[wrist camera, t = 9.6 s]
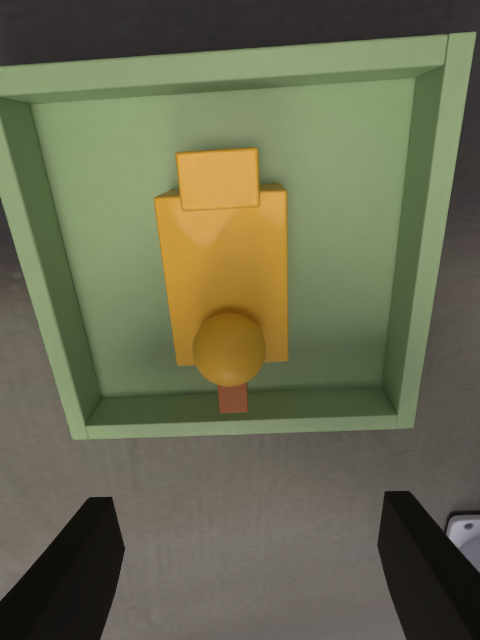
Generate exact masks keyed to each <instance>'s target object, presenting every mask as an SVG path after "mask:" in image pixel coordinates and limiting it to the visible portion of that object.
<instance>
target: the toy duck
mask: <svg viewBox="0 0 480 640" xmlns="http://www.w3.org/2000/svg"><path fill="white" fill-rule="evenodd" d="M175 158H176V167H177V175H178V184H179V189H171V190H169V191H167V192H164V193H162V194H160V195H158V196H156V197H154V199H153V200H154V207H155V214H156V221H157V228H158V235H159V242H160V249H161V256H162V263H163V270H164V277H165V284H166V291H167V298H168V306H169V313H170V320H171V327H172V334H173V341H174V348H175V355H176V362H177V365H178V366H188V365H196V367H197V369H198V370H199V372H200V373H201V374H202V375H203V376H204V377H205V378H206V379H207V380H209V381H210V382H212V383H214V384H217V390H218V400H219V411H220V413H239V412H248V390H247V382H248V381H249V380H251V379H252V378H253V377H255V375H256V374H257V373H258V372H259V370H260V369H261V367H262V365H263V363H264V362H284V361H288V194H287V190H286V189H285V188H284V187H283V186H282V185H281V184H280V183H269V184H260V183H259V154H258V148H256V147H248V148H232V149H216V150H200V151H184V152H177V153H176V154H175Z"/></svg>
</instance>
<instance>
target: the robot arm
mask: <svg viewBox="0 0 480 640" xmlns="http://www.w3.org/2000/svg"><path fill="white" fill-rule="evenodd" d="M377 546H378V550H379V554H380V558H381V562H382V566H383V570H384V574H385V578H386V581H387V585H388V589H389V592H390V595H391V598H392V601H393V603H394V606H395V609H396V612H397V615H398V617H399V620H400V623H401V626H402V629H403V631H404V634H405V637H406V640H480V515H457V516H453V517H452V518H451V519H450V520H449V523H448V527H447V531H446V534H445V533H444V532H443V530H442V529H441V528H440V527H439V526H438V525H437V523H436V522H435V521H434V520H433V519H432V517H431V516H430V515H429V514H428V513H427V511H426V510H425V509H424V508H423V507H422V505H421V504H420V503H419V502H418V500H417V499H416V498H415V497H414V496H413V494H412V493H410V492H409V491H385V495H384V502H383V509H382V516H381V523H380V530H379V537H378V544H377ZM124 551H125V547H124V543H123V539H122V535H121V531H120V527H119V523H118V519H117V515H116V511H115V507H114V503H113V499H112V497H89V498H88V499H87V500H86V502H85V503H84V504H83V505H82V506H81V508H80V509H79V510H78V511H77V512H76V514H75V515H74V516H73V517H72V519H71V520H70V521H69V522H68V523H67V525H66V526H65V527H64V528H63V530H62V531H61V532H60V533H59V534H58V536H57V537H56V538H55V539H54V540H53V542H52V543H51V544H50V545H49V546H48V548H47V549H46V550H45V551H44V552H43V553H42V555H41V556H40V557H39V558H38V559H37V560H36V562H35V563H34V564H33V565H32V566H31V567H30V569H29V570H28V571H27V572H26V573H25V574H24V575H23V577H22V578H21V579H20V580H19V581H18V582H17V583H16V585H15V586H14V587H13V588H12V589H11V590H10V591H9V592H8V593H7V594H6V596H5V597H4V598H3V599H2V600H1V601H0V640H100V638H101V635H102V632H103V629H104V626H105V623H106V620H107V617H108V614H109V611H110V608H111V605H112V602H113V598H114V595H115V592H116V587H117V583H118V579H119V575H120V570H121V565H122V561H123V556H124Z"/></svg>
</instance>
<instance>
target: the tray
mask: <svg viewBox="0 0 480 640" xmlns="http://www.w3.org/2000/svg"><path fill="white" fill-rule="evenodd" d="M475 38H476V32H463V33H450V34H449V35H446V34H440V35H426V36H412V37H398V38H385V39H371V40H357V41H343V42H329V43H315V44H301V45H287V46H274V47H260V48H246V49H232V50H218V51H204V52H190V53H176V54H163V55H149V56H135V57H121V58H107V59H93V60H79V61H65V62H52V63H38V64H24V65H10V66H0V197H1V201H2V204H3V208H4V211H5V214H6V218H7V221H8V224H9V228H10V231H11V234H12V238H13V241H14V245H15V248H16V251H17V255H18V258H19V261H20V265H21V268H22V271H23V275H24V278H25V281H26V285H27V288H28V292H29V295H30V298H31V302H32V305H33V308H34V312H35V315H36V318H37V322H38V325H39V329H40V332H41V335H42V339H43V342H44V345H45V349H46V352H47V355H48V359H49V362H50V366H51V369H52V372H53V376H54V379H55V382H56V386H57V389H58V392H59V396H60V399H61V403H62V406H63V409H64V413H65V416H66V419H67V423H68V426H69V429H70V433H71V436H72V439H74V440H77V439H88V438H89V439H117V438H146V437H175V436H204V435H233V434H262V433H290V432H319V431H348V430H377V429H395V428H396V429H407V428H414V421H415V415H416V409H417V403H418V396H419V390H420V384H421V377H422V371H423V365H424V359H425V352H426V346H427V340H428V334H429V327H430V321H431V315H432V308H433V302H434V296H435V290H436V283H437V277H438V271H439V264H440V258H441V252H442V246H443V239H444V233H445V227H446V220H447V214H448V208H449V202H450V195H451V189H452V183H453V177H454V170H455V164H456V158H457V151H458V145H459V139H460V133H461V126H462V120H463V114H464V107H465V101H466V95H467V89H468V82H469V76H470V70H471V63H472V57H473V51H474V45H475ZM248 147H256V148H258V154H259V183H260V184H269V183H280V184H281V185H282V186H283V187H284V188H285V189H286V190H287V194H288V361H284V362H264V363H263V365H262V367H261V369H260V370H259V372H258V373H257V374H256V375H255V377H253V378H252V379H251V380H249V381H248V382H247V390H248V412H239V413H220V411H219V400H218V390H217V384H214V383H212V382H210V381H209V380H207V379H206V378H205V377H204V376H203V375H202V374H201V373H200V372H199V370H198V369H197V367H196V365H188V366H178V365H177V362H176V355H175V348H174V341H173V334H172V327H171V320H170V313H169V306H168V298H167V291H166V284H165V277H164V270H163V263H162V256H161V249H160V242H159V235H158V228H157V221H156V214H155V207H154V200H153V199H154V197H156V196H158V195H160V194H162V193H164V192H167V191H169V190H171V189H179V184H178V175H177V167H176V158H175V154H176V153H177V152H184V151H200V150H216V149H232V148H248Z"/></svg>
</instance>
